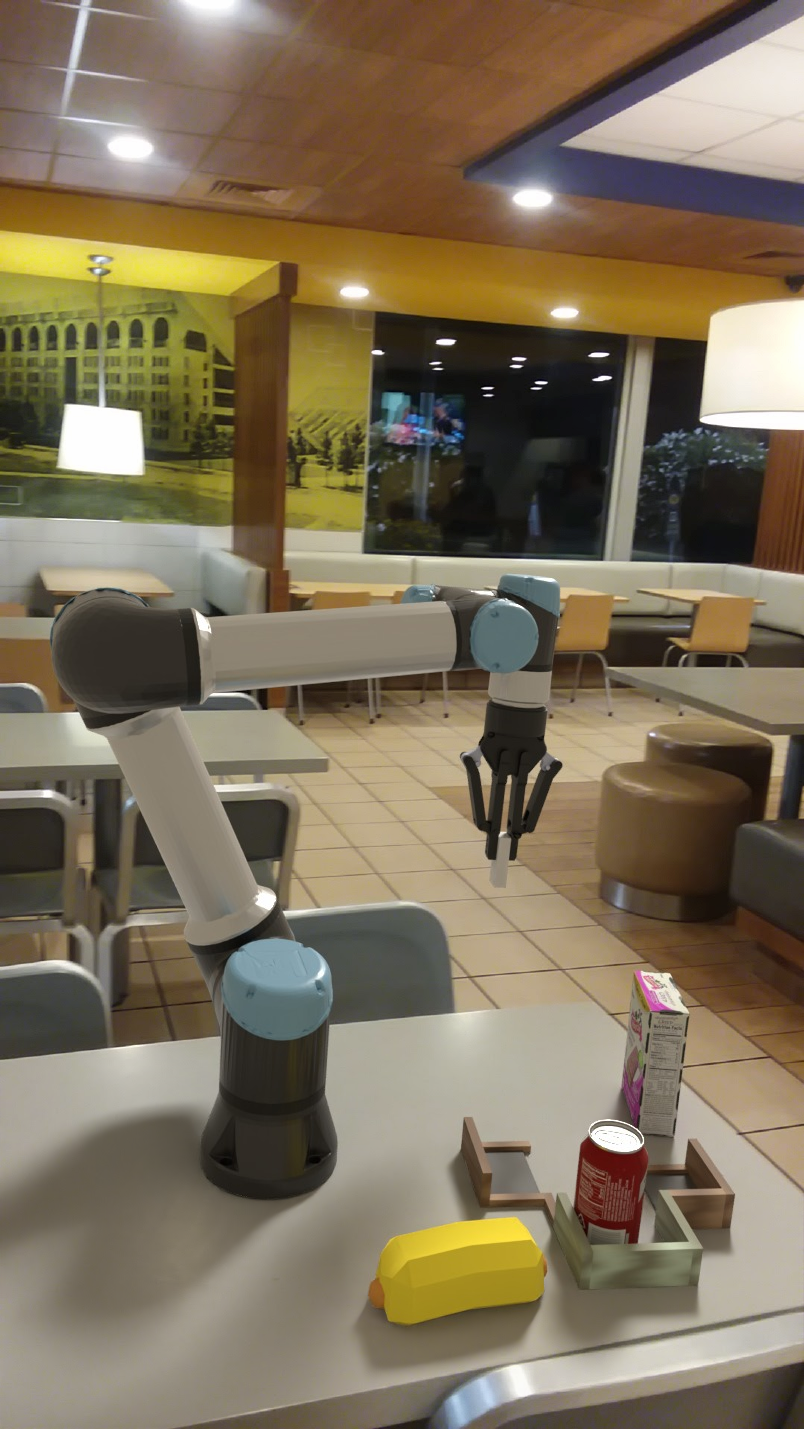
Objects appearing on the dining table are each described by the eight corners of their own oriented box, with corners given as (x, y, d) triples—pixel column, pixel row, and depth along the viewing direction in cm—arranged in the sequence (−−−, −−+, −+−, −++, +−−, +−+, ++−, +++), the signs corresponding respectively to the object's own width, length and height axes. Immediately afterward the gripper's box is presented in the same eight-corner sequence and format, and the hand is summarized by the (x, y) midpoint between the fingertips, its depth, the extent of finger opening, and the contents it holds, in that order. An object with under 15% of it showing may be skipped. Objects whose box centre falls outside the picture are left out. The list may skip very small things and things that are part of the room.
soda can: (629, 1273, 105) (642, 1163, 103) (562, 1250, 108) (574, 1142, 105) (643, 1233, 111) (656, 1128, 109) (579, 1212, 114) (591, 1109, 112)
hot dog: (355, 1284, 101) (379, 1345, 94) (359, 1221, 100) (384, 1278, 93) (528, 1253, 107) (563, 1309, 100) (534, 1194, 106) (570, 1245, 99)
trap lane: (507, 1292, 101) (511, 1255, 101) (460, 1148, 124) (463, 1116, 123) (765, 1282, 105) (771, 1246, 104) (675, 1144, 128) (679, 1113, 127)
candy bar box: (618, 1086, 140) (632, 968, 137) (656, 1089, 140) (671, 971, 137) (634, 1135, 129) (649, 1009, 126) (675, 1139, 129) (692, 1012, 126)
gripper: (559, 699, 137) (538, 875, 141) (459, 692, 135) (441, 872, 139) (577, 710, 129) (555, 896, 134) (472, 703, 127) (452, 892, 132)
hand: (497, 883), depth 136 cm, fingers closed
